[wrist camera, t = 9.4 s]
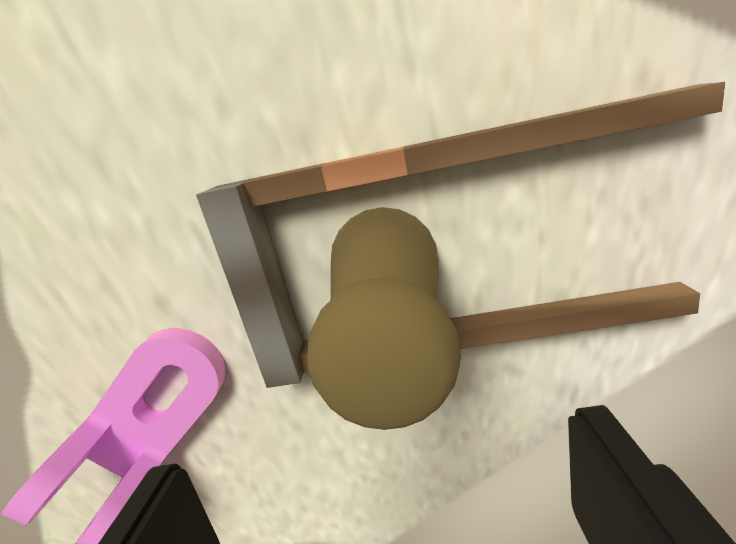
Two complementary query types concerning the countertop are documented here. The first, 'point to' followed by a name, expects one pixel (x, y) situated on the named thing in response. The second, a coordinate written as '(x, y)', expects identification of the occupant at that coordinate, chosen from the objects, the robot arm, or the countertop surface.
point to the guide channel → (244, 198)
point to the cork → (384, 325)
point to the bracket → (129, 427)
